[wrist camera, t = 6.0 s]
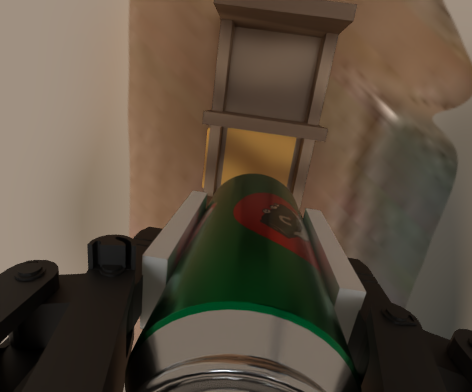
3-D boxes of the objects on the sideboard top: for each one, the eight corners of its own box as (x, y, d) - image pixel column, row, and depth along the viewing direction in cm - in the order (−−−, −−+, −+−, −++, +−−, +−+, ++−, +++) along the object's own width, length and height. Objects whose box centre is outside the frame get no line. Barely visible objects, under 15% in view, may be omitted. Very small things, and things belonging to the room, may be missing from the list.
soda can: (205, 173, 16) (64, 349, 4) (296, 167, 15) (398, 350, 4) (214, 253, 17) (127, 536, 6) (298, 250, 17) (375, 555, 5)
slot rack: (223, 14, 26) (211, -14, 20) (333, 28, 26) (357, 4, 20) (197, 261, 35) (183, 295, 28) (280, 274, 34) (285, 312, 28)
